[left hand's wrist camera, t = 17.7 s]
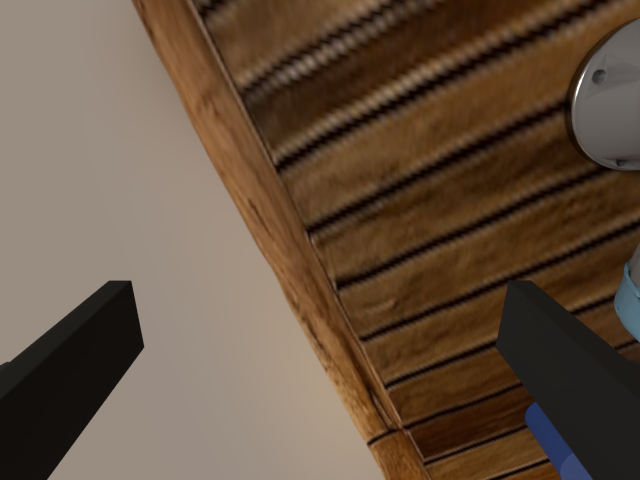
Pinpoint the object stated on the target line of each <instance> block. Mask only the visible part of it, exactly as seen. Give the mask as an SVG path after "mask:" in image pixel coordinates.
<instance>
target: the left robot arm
mask: <svg viewBox="0 0 640 480" xmlns="http://www.w3.org/2000/svg"><path fill="white" fill-rule="evenodd" d="M565 124H566V129H567V133H568V136H569V138H570V140H571V142H572V144H573V146H574V147H575V148H576V150H577V151H578V152H579V153H580V154H581V155H582V156H583V157H584V158H586V159H587V160H589V161H590V162H592V163H594V164H597V165H599V166H603V167H607V168H612V169H617V170H629V171H631V170H640V17H639V18H636V19H633V20H631V21H628V22H626V23H624V24H622V25H620V26H618V27H617V28H615V29H614V30H612V31H611V32H609V33H608V34H607V35H605V36H604V37H603V38H602V39H601V40H600V41H598V42H597V43H596V44H595V45H594V47H593V48H592V49H591V50H590V51H589V52H588V53H587V55H586V56H585V57H584V59H583V60H582V62H581V63H580V65H579V66H578V68H577V70H576V72H575V74H574V76H573V78H572V81H571V83H570V86H569V89H568V92H567V97H566V102H565ZM614 306H615V310H616V312H617V315H618V316H619V318H620V320H621V322H622V324H623V325H624V327H625V328H626V329H627V330H628V331H629V332H630V333H631V334H632V335H633V336H634V337H635V338H636V339H637V340H638V341H639V342H640V242H639V244H638V246H637V248H636V250H635V252H634V254H633V255H632V257H631V259H630V260H629V261H628V262H627V263H626V264H625V267H624V276H623V279H622V281H621V284H620V286H619V288H618V291H617V293H616V295H615V300H614ZM143 348H144V343H143V338H142V333H141V328H140V323H139V318H138V313H137V308H136V303H135V297H134V293H133V287H132V282H131V281H108V282H107V283H106V284H104V285H103V286H102V287H101V288H100V289H98V290H97V291H96V292H95V293H93V294H92V295H91V296H90V297H89V298H87V299H86V300H85V301H84V302H82V303H81V304H80V305H79V306H78V307H76V308H75V309H74V310H73V311H71V312H70V313H69V314H68V315H67V316H65V317H64V318H63V319H62V320H61V321H59V322H58V323H57V324H56V325H54V326H53V327H52V328H51V329H50V330H48V331H47V332H46V333H45V334H43V335H42V336H41V337H40V338H39V339H37V340H36V341H35V342H34V343H33V344H31V345H30V346H29V347H28V348H26V349H25V350H24V351H23V352H22V353H20V354H19V355H18V356H17V357H15V358H14V359H13V360H12V361H11V362H6V363H4V364H2V365H0V480H47V479H48V478H49V476H50V475H51V474H52V472H53V471H54V470H55V468H56V467H57V465H58V464H59V463H60V461H61V460H62V459H63V457H64V456H65V455H66V453H67V452H68V450H69V449H70V448H71V446H72V445H73V444H74V442H75V441H76V440H77V438H78V437H79V435H80V434H81V433H82V431H83V430H84V429H85V427H86V426H87V425H88V423H89V422H90V420H91V419H92V418H93V416H94V415H95V414H96V412H97V411H98V410H99V408H100V407H101V405H102V404H103V403H104V401H105V400H106V399H107V397H108V396H109V395H110V393H111V392H112V390H113V389H114V388H115V386H116V385H117V384H118V382H119V381H120V380H121V378H122V377H123V375H124V374H125V373H126V371H127V370H128V369H129V367H130V366H131V365H132V363H133V362H134V361H135V359H136V358H137V356H138V355H139V354H140V352H141V351H142V350H143ZM496 348H497V350H498V351H499V352H500V354H501V355H502V356H503V358H504V359H505V361H506V362H507V363H508V365H509V366H510V367H511V369H512V370H513V371H514V373H515V374H516V376H517V377H518V378H519V380H520V381H521V382H522V384H523V385H524V386H525V388H526V389H527V390H528V392H529V393H530V395H531V396H532V397H533V399H534V400H535V401H536V403H537V404H538V405H539V407H540V408H541V410H542V411H543V412H544V414H545V415H546V416H547V418H548V419H549V420H550V422H551V423H552V425H553V426H554V427H555V429H556V430H557V431H558V433H559V434H560V435H561V437H562V438H563V440H564V441H565V442H566V444H567V445H568V446H569V448H570V449H571V450H572V452H573V453H574V455H575V456H576V457H577V459H578V460H579V461H580V463H581V464H582V465H583V467H584V468H585V470H586V471H587V472H588V474H589V475H590V476H591V478H592V479H593V480H640V364H639V363H637V362H635V361H628V360H627V359H626V358H625V357H623V356H622V355H621V354H620V353H619V352H617V351H616V350H615V349H614V348H612V347H611V346H610V345H609V344H608V343H606V342H605V341H604V340H603V339H601V338H600V337H599V336H598V335H597V334H595V333H594V332H593V331H592V330H590V329H589V328H588V327H587V326H586V325H584V324H583V323H582V322H581V321H579V320H578V319H577V318H576V317H575V316H573V315H572V314H571V313H570V312H569V311H567V310H566V309H565V308H564V307H562V306H561V305H560V304H559V303H558V302H556V301H555V300H554V299H553V298H551V297H550V296H549V295H548V294H547V293H545V292H544V291H543V290H542V289H540V288H539V287H538V286H537V285H536V284H534V283H533V282H532V281H509V282H508V287H507V292H506V297H505V302H504V308H503V313H502V318H501V323H500V328H499V333H498V338H497V343H496Z"/></svg>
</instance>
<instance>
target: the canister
mask: <svg viewBox="0 0 640 480" xmlns="http://www.w3.org/2000/svg"><path fill="white" fill-rule="evenodd" d="M525 422H526V424H527V426H528V427H529V429H530V431H531V432H532V434H533V435H534V437H535V438H536V440H537V441H538V443H539V444H540V446H541V447H542V449H543V450H544V452H545V454H546V455H547V457H548V458H549V460H550V461H551V463H552V464H553V466H554V467H555V469H556V470H557V472H558V473H559V475H560V477H561V478H562V480H593V479H592V478H591V476H590V475H589V474H588V472H587V471H586V470H585V468H584V467H583V465H582V464H581V463H580V461H579V460H578V459H577V457H576V456H575V455H574V453H573V452H572V450H571V449H570V448H569V446H568V445H567V444H566V442H565V441H564V440H563V438H562V437H561V435H560V434H559V433H558V431H557V430H556V429H555V427H554V426H553V425H552V423H551V422H550V420H549V419H548V418H547V416H546V415H545V414H544V412H543V411H542V410H541V408H540V407H539V405H538V404H537V403H536V401H535V402H534V403H533V404H532V405H531V406H530V407H529V408H528V409H527V411H526V414H525Z"/></svg>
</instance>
